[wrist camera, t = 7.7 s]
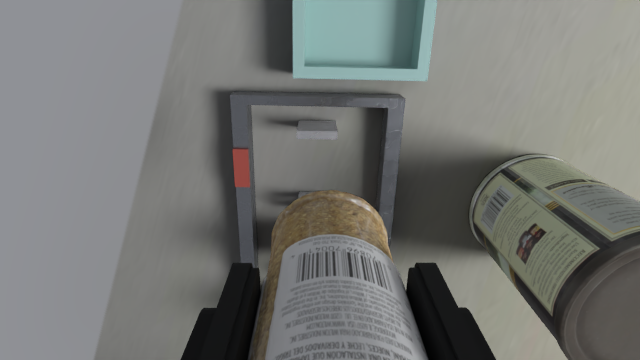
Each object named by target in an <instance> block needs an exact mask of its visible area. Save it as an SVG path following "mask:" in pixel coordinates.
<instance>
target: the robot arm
mask: <svg viewBox="0 0 640 360" xmlns="http://www.w3.org/2000/svg"><path fill="white" fill-rule="evenodd" d="M406 293H407V297H408V300H409V303H410V306H411V309H412V312H413V315H414V318H415V321H416V324H417V326H418V329H419V332H420V335H421V338H422V341H423V344H424V347H425V350H426V353H427V356H428V359H429V360H496V359H495V357H494V355H493V353H492V351H491V349H490V347H489V346H488V344H487V342H486V340H485V338H484V336H483V334H482V333H481V331H480V329H479V327H478V325H477V323H476V321H475V320H474V318H473V316H472V314H471V312H470V311H469V310H468V309H467V308H458V306H457V304H456V302H455V300H454V298H453V296H452V294H451V292H450V290H449V288H448V286H447V284H446V282H445V280H444V278H443V276H442V274H441V272H440V270H439V268H438V266H437V265H436V263H416V264H415V268H409V271H408V280H407V289H406ZM260 294H261V288H260V274H259V268H253V265H252V263H233V264H232V267H231V269H230V272H229V275H228V278H227V281H226V283H225V286H224V289H223V292H222V295H221V297H220V300H219V303H218V306H217V308H203V309H202V310H201V312H200V314H199V316H198V319H197V321H196V324H195V326H194V329H193V331H192V333H191V336H190V338H189V341H188V343H187V346H186V348H185V350H184V353H183V355H182V358H181V360H247V359H248V353H249V348H250V343H251V338H252V334H253V329H254V324H255V318H256V313H257V308H258V304H259V299H260Z"/></svg>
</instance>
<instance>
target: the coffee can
mask: <svg viewBox="0 0 640 360" xmlns="http://www.w3.org/2000/svg"><path fill="white" fill-rule="evenodd" d="M469 220H470V226H471V229H472V232H473V234H474V236H475V237H476V239H477V240H478V241H479V242H480V243H481V244H482V245H483V246H484V248H485V249H486V250H487V251H488V253H489V254H490V255H491V257H492V258H493V259H494V260H495V262H496V263H497V264H498V265H499V267H500V268H501V269H502V270H503V272H504V273H505V274H506V276H507V277H508V278H509V279H510V281H511V282H512V283H513V285H514V286H515V287H516V288H517V290H518V291H519V292H520V294H521V295H522V296H523V297H524V299H525V300H526V301H527V303H528V304H529V305H530V306H531V308H532V309H533V310H534V312H535V313H536V314H537V315H538V317H539V318H540V319H541V321H542V322H543V323H544V324H545V326H546V327H547V328H548V329H549V331H550V332H551V333H552V335H553V336H554V337H555V339H556V340H557V342H558V344H559V346H560V348H561V350H562V351H563V353H564V354H565V356H566V357H567V358H568V360H640V201H638V200H636V199H634V198H632V197H630V196H628V195H626V194H625V193H623V192H621V191H619V190H617V189H615V188H613V187H611V186H609V185H607V184H605V183H603V182H601V181H600V180H598V179H596V178H594V177H592V176H590V175H588V174H586V173H584V172H582V171H580V170H578V169H576V168H575V167H573V166H571V165H570V164H568V163H567V162H565V161H563V160H562V159H559V158H557V157H553V156H550V155H542V154H535V155H525V156H522V157H518V158H515V159H512V160H510V161H507V162H505V163H504V164H502V165H500V166H498V167H497V168H496V169H494V170H493V171H492V172H491V173H490V174H488V175H487V176H486V177H485V179H484V180H483V181H482V183H481V184H480V185H479V187H478V188H477V190H476V192H475V194H474V196H473V198H472V201H471V205H470V211H469Z"/></svg>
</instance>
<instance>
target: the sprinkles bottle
mask: <svg viewBox="0 0 640 360" xmlns="http://www.w3.org/2000/svg"><path fill="white" fill-rule="evenodd" d="M271 237H272V240H271V257H270V261H269V267H268V273H267V276H266V277H265V279H264V282H263V285H262V289H261V294H260V299H259V304H258V308H257V313H256V318H255V324H254V329H253V334H252V338H251V343H250V348H249V353H248V359H247V360H429V359H428V356H427V353H426V350H425V347H424V344H423V341H422V338H421V335H420V332H419V329H418V326H417V324H416V321H415V318H414V315H413V312H412V309H411V306H410V303H409V300H408V297H407V293H406V290H405V287H404V285H403V282H402V279H401V276H400V274H399V271H398V270H397V268H396V266H395V264H394V262H393V259H392V256H391V253H390V250H389V246H388V236H387V231H386V228H385V226H384V223H383V220H382V218H381V217H380V215H379V214H378V212H377V211H376V210H375V209H374V208H373V207H372V206H371V205H370V204H369V203H368V202H366V201H365V200H364V199H362V198H360V197H358V196H355V195H353V194H350V193H347V192H340V191H337V190H328V191H316V192H312V193H310V194H307V195H304V196H302V197H300V198H299V199H297V200H295V201H293V202H292V204H290V205H289V206H287V208H286V209H284V210H283V211H282V212H281V213H280V215H279V216H278V218H277V220H276V223H275V225H274V228H273V230H272V234H271Z"/></svg>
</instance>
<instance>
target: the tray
mask: <svg viewBox="0 0 640 360" xmlns="http://www.w3.org/2000/svg"><path fill="white" fill-rule="evenodd" d="M436 7H437V0H293V78H311V79H356V80H400V81H427V79H428V71H429V63H430V55H431V47H432V39H433V31H434V23H435V15H436Z"/></svg>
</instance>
